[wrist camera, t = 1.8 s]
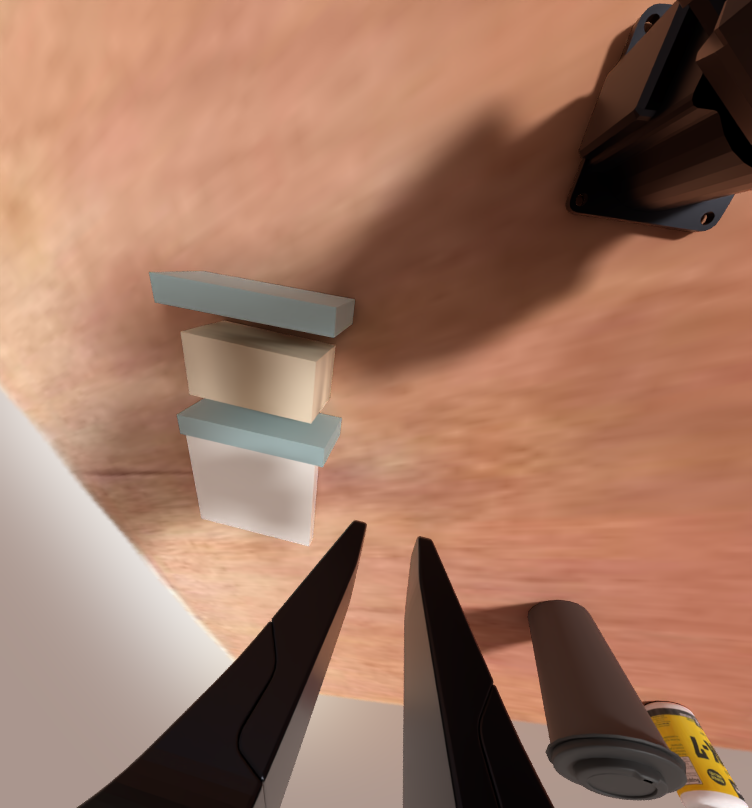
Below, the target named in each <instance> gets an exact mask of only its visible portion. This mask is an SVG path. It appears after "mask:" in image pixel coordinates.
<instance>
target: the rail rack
mask: <svg viewBox="0 0 752 808" xmlns="http://www.w3.org/2000/svg"><path fill="white" fill-rule="evenodd" d="M149 275H150V280H151V285H152V291H153V296H154V301H155V303H160V304H165V305H170V306H175V307H180V308H185V309H191V310H196V311H201V312H206V313H211V314H216V315H221V316H226V317H231V318H236V319H241V320H246V321H251V322H256V323H261V324H266V325H272V326H277V327H282V328H287V329H292V330H297V331H302V332H307V333H312V334H317V335H322V336H327V337H332V338H334V337H336V336H337V335H338V334H340V333H341V332H342V331H344V330H345V329H346V328H348V327H349V326H350V325H352V323H353V315H354V306H355V299H351V298H346V297H340V296H335V295H329V294H324V293H319V292H313V291H308V290H303V289H297V288H292V287H286V286H281V285H276V284H270V283H265V282H259V281H254V280H249V279H243V278H238V277H232V276H227V275H222V274H216V273H211V272H206V271H182V272H149ZM177 419H178V424H179V429H180V434H184V435H188V436H192V437H196V438H201V439H205V440H209V441H213V442H218V443H222V444H226V445H230V446H235V447H239V448H243V449H247V450H252V451H256V452H260V453H264V454H269V455H273V456H277V457H282V458H286V459H290V460H294V461H299V462H303V463H307V464H311V465H316V466H320V467H323V466H324V464H325V462H326V460H327V458H328V456H329V454H330V453H331V451H332V449H333V447H334V445H335V443H336V441H337V439H338V437H339V435H340V429H341V420H342V418H339V417H335V416H330V415H326V414H321V413H319V414H318V415H317V416H316V418H315V419H314V420H313V422H312V423H311V424H310V423H306V422H302V421H298V420H293V419H289V418H285V417H281V416H277V415H273V414H268V413H264V412H260V411H256V410H252V409H248V408H243V407H239V406H235V405H231V404H227V403H223V402H218V401H214V400H210V399H206V398H204V399H202V400H201V401H199V402H197V403H196V404H194V405H192V406H190V407H189V408H187V409H185V410H184V411H182V412H180V413H178V414H177Z"/></svg>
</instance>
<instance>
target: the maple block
mask: <svg viewBox="0 0 752 808" xmlns="http://www.w3.org/2000/svg"><path fill="white" fill-rule="evenodd" d="M180 333H181V340H182V347H183V354H184V361H185V367H186V374H187V381H188V388H189V395H193V396H197V397H202V398H206V399H210V400H214V401H218V402H223V403H227V404H231V405H235V406H239V407H243V408H248V409H252V410H256V411H260V412H264V413H268V414H273V415H277V416H281V417H285V418H289V419H293V420H298V421H302V422H306V423H310V424H311V423H312V422H313V420H314V419H315V418H316V416H317V415H318V414H319V412H320V411H321V410H322V408H323V407H324V406H325V404H326V403H327V402H328V400H329V399H330V394H331V385H332V376H333V367H334V358H335V349H336V345H333V344H329V343H324V342H320V341H315V340H311V339H306V338H302V337H297V336H292V335H288V334H283V333H279V332H274V331H270V330H265V329H261V328H256V327H252V326H247V325H242V324H238V323H233V322H229V321H224V320H223V321H219V322H215V323H211V324H208V325H204V326H200V327H196V328H192V329H188V330H184V331H181V332H180Z"/></svg>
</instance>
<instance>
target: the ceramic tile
mask: <svg viewBox="0 0 752 808" xmlns="http://www.w3.org/2000/svg"><path fill="white" fill-rule="evenodd" d="M186 438H187V443H188V449H189V454H190V459H191V465H192V470H193V476H194V481H195V487H196V492H197V497H198V503H199V508H200V514H201V519H205V520H209V521H213V522H217V523H221V524H225V525H228V526H232V527H236V528H240V529H244V530H248V531H252V532H256V533H259V534H263V535H267V536H271V537H275V538H279V539H283V540H287V541H290V542H294V543H298V544H302V545H306V546H310V543H311V541H312V539H313V531H314V518H315V505H316V492H317V479H318V466H316V465H311V464H307V463H303V462H299V461H294V460H290V459H286V458H282V457H277V456H273V455H269V454H264V453H260V452H256V451H252V450H247V449H243V448H239V447H235V446H230V445H226V444H222V443H218V442H213V441H209V440H205V439H201V438H196V437H192V436H188V435H186Z"/></svg>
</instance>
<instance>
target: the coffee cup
mask: <svg viewBox="0 0 752 808" xmlns="http://www.w3.org/2000/svg"><path fill="white" fill-rule="evenodd" d="M528 621H529V627H530V632H531V638H532V643H533V649H534V655H535V660H536V666H537V671H538V677H539V682H540V688H541V693H542V699H543V705H544V710H545V716H546V721H547V727H548V732H549V738H550V744H549V745H548V747H547V750H546V754H547V756H548V758H549V761H550V762H551V763H552V764H553V765H554V768H555V769H556V771H557V772H558V773H559V774H560V775H562V776H563V777H565V778H566V779H568V780H570V781H572V782H574V783H576V784H579V785H582V786H583V787H585V788H587V789H588V790H590V791H593V792H595V793H598V794H601V795H604V796H608V797H612V798H619V799H626V800H651V799H656V798H660V797H662V796H664V795H665V794H667V793H671V792H674V791H677V790H679V789H681V788H682V787H684V786H685V784H686V783H687V777H686V763H685V762H684V761H683V760H682V759H681V757H680V756H679V755H678V754H676V753H674V752H673V751H671V750H670V749H669V748H668V746H667V744H666V743H665V741H664V739H663V737H662V736H661V734H660V732H659V731H658V729H657V727H656V726H655V724H654V722H653V721H652V719H651V717H650V715H649V714H648V712H647V710H646V709H645V707H644V705H643V704H642V702H641V700H640V698H639V697H638V695H637V693H636V692H635V690H634V688H633V687H632V685H631V683H630V681H629V680H628V678H627V676H626V675H625V673H624V671H623V670H622V668H621V666H620V665H619V663H618V661H617V659H616V658H615V656H614V654H613V653H612V651H611V649H610V648H609V646H608V644H607V642H606V641H605V639H604V637H603V636H602V634H601V632H600V631H599V629H598V627H597V625H596V624H595V622H594V620H593V619H592V617H591V615H590V614H589V612H588V611H587V610H586V609H585V608H584V607H582V606H580V605H579V604H576V603H573V602H570V601H562V600H553V601H546V602H542V603H539V604H537V605H536V606H534V607H532V609H531V610H530V611H529V613H528Z"/></svg>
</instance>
